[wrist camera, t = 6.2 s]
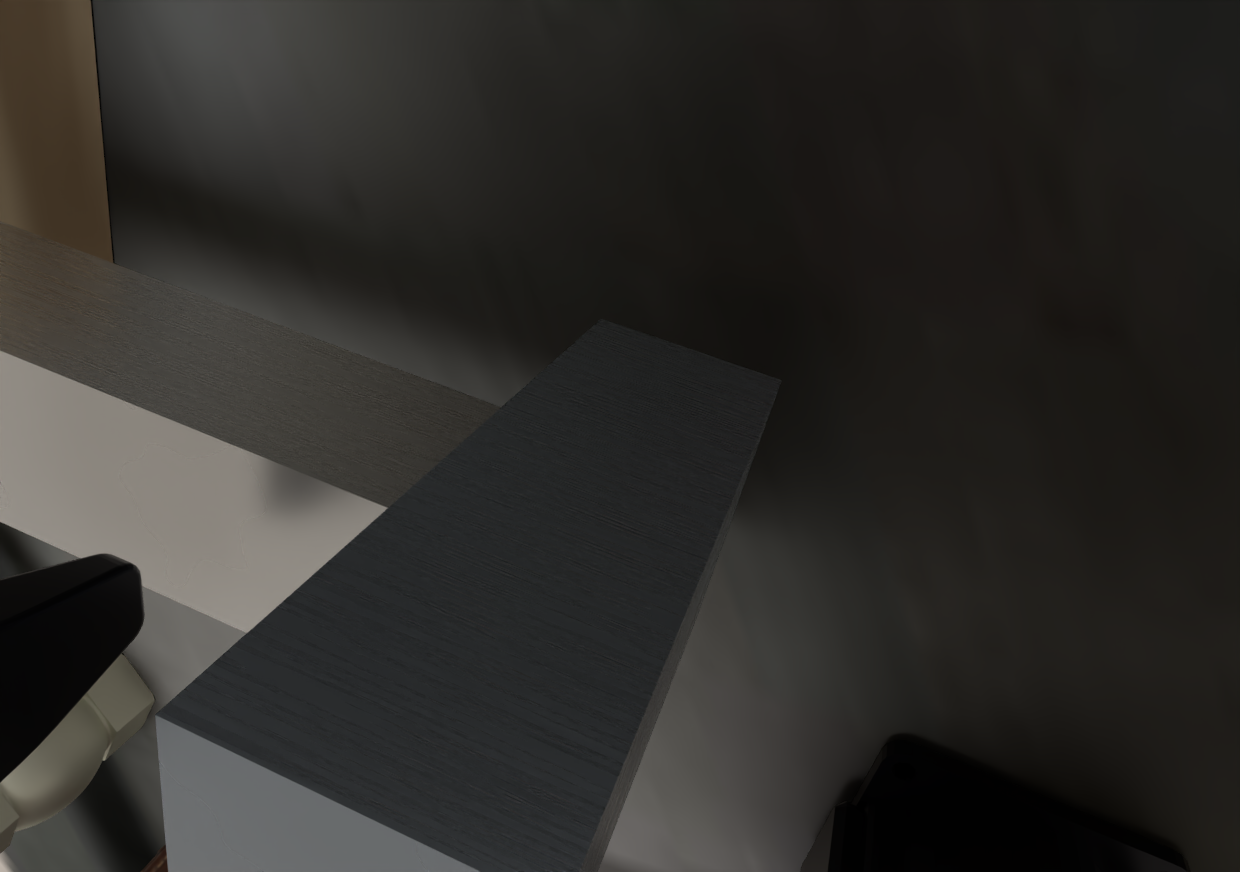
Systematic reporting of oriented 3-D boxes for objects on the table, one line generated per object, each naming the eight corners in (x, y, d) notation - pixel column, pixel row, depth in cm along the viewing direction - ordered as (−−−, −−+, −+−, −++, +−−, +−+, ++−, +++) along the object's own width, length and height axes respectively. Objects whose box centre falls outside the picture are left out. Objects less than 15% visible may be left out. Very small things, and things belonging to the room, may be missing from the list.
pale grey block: (781, 380, 13) (562, 912, 5) (696, 620, 15) (460, 1222, 8) (-82, 84, 16) (-1046, 136, 8) (-37, 325, 18) (-743, 540, 10)
